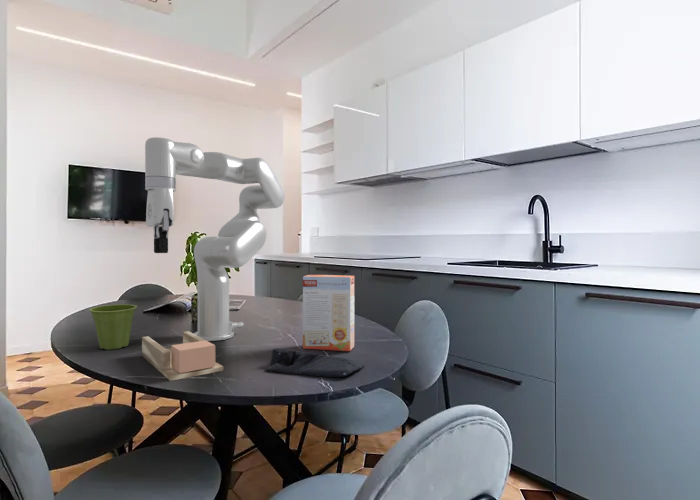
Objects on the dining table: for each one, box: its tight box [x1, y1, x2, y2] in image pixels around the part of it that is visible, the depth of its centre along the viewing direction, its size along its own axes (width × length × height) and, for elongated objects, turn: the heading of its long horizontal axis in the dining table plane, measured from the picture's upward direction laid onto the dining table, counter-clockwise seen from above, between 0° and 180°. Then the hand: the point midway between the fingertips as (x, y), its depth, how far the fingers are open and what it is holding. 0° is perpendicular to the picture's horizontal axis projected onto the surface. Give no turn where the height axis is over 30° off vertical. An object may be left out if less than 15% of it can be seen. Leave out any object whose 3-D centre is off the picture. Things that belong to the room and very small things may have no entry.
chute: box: [141, 330, 224, 382], centre depth 106 cm, size 12×25×5 cm, turn 39°
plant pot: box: [89, 303, 138, 351], centre depth 121 cm, size 12×12×11 cm
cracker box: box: [302, 274, 355, 352], centre depth 121 cm, size 14×6×21 cm, turn 77°
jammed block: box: [170, 340, 216, 373], centre depth 98 cm, size 8×6×5 cm
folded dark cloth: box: [264, 347, 365, 378], centre depth 103 cm, size 15×22×5 cm
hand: (161, 252), depth 115 cm, fingers closed
